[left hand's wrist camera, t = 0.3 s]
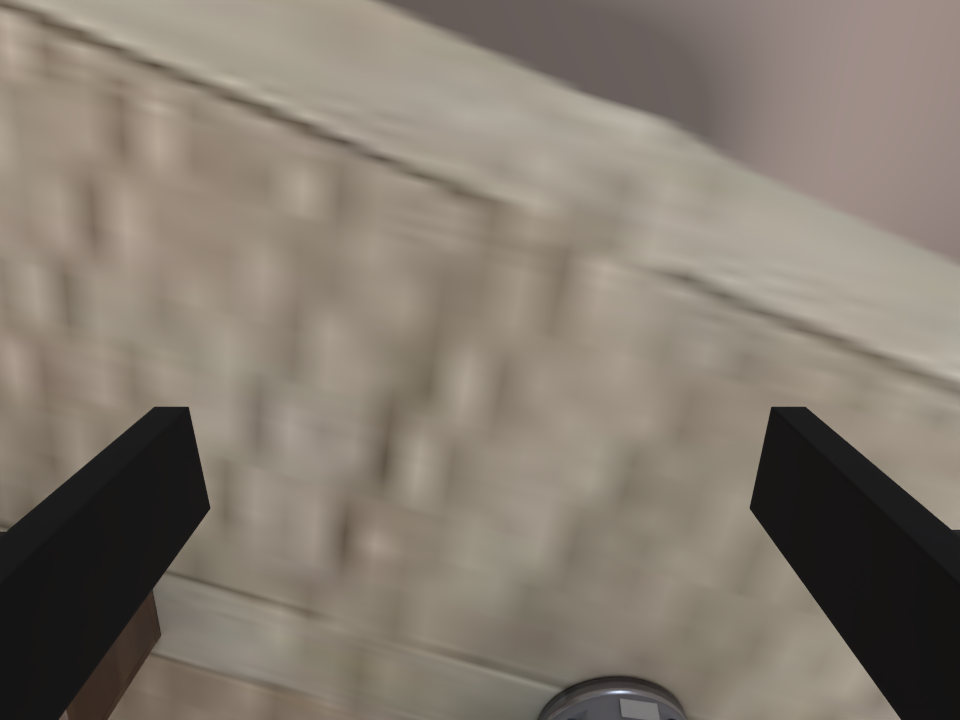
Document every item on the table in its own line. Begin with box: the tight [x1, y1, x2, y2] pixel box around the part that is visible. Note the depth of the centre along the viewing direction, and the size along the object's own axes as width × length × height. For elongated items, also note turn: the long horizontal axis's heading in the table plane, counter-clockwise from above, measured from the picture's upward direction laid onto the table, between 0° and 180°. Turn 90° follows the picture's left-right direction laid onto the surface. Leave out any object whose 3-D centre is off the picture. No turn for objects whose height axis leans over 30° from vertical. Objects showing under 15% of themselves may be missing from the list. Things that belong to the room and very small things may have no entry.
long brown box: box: [59, 591, 161, 720], centre depth 45 cm, size 17×10×11 cm, turn 86°
